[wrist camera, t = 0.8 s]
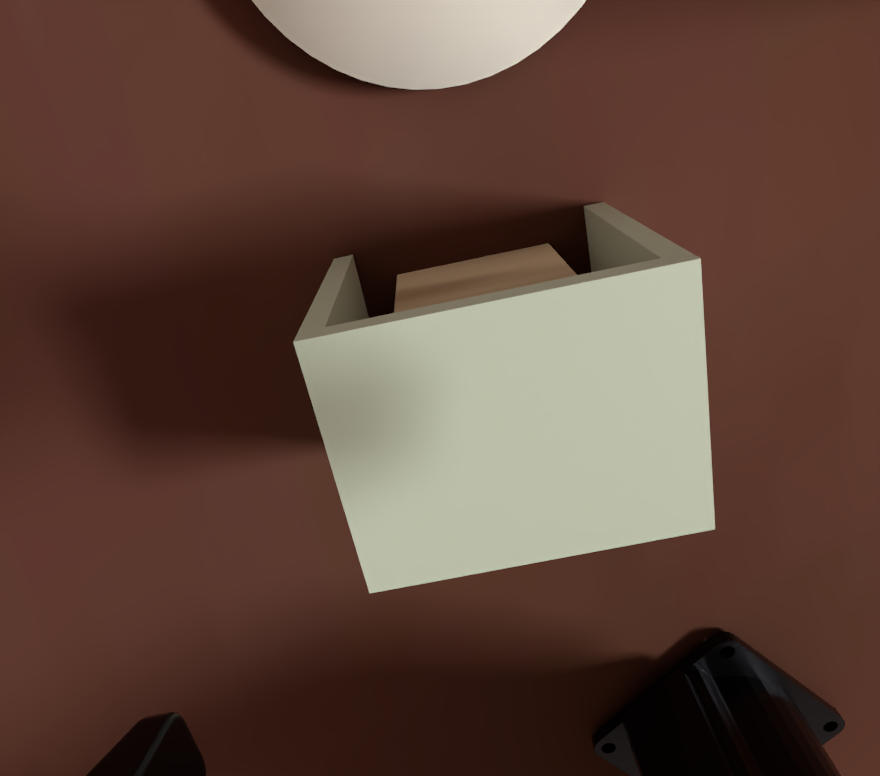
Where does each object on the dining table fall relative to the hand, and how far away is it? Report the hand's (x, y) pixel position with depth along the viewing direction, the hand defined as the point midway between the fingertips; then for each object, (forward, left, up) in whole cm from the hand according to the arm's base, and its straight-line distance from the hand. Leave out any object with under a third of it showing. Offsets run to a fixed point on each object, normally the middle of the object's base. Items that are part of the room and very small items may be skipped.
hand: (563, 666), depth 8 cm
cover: (0, 0, -12) cm, 12 cm away
